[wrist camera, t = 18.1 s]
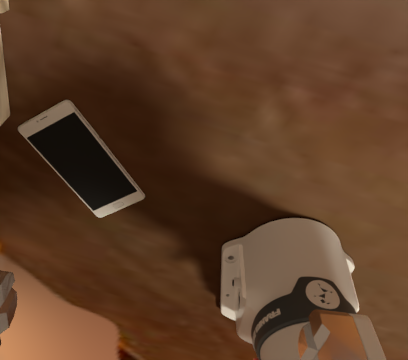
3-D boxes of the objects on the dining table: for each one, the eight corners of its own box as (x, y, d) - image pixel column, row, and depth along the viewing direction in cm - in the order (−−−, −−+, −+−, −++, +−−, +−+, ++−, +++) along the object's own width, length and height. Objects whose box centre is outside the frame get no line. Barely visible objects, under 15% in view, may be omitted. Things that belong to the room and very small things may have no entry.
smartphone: (98, 219, 50) (14, 128, 42) (99, 216, 50) (16, 125, 43) (146, 198, 48) (67, 98, 40) (147, 195, 48) (69, 96, 41)
